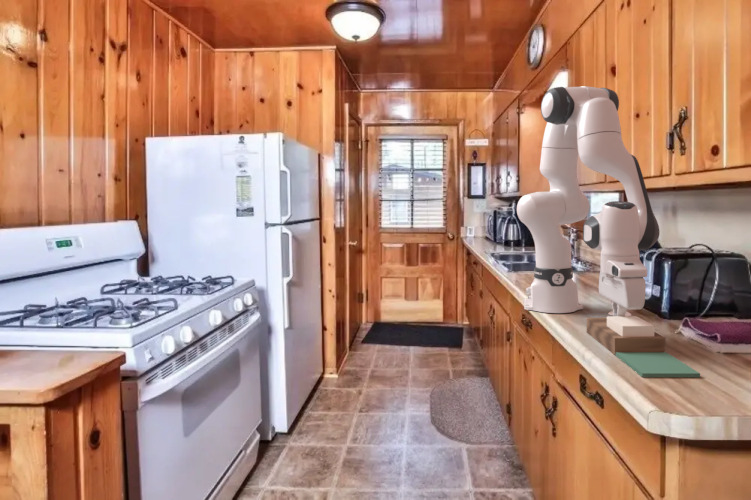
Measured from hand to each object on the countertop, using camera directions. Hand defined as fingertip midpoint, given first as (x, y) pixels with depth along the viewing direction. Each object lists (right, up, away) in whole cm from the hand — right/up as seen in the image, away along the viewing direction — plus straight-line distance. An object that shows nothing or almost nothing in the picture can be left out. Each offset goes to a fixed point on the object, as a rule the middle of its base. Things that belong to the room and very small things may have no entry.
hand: (619, 319), depth 123 cm
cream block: (-1, -2, -6) cm, 7 cm away
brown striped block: (0, -6, -2) cm, 6 cm away
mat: (-2, -7, -19) cm, 21 cm away
